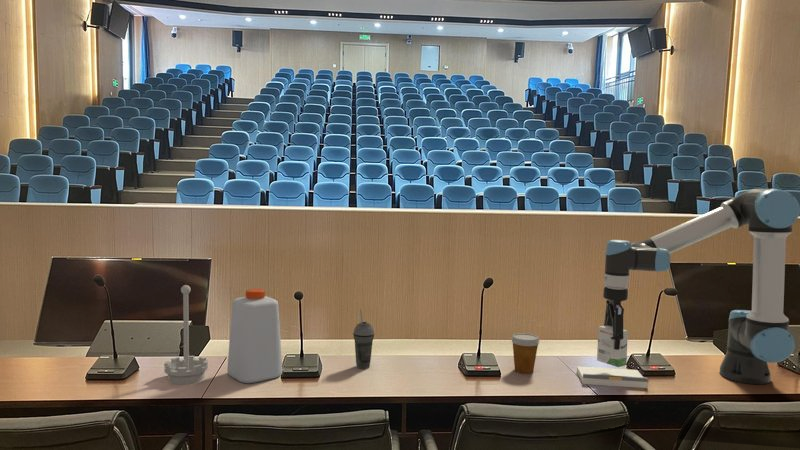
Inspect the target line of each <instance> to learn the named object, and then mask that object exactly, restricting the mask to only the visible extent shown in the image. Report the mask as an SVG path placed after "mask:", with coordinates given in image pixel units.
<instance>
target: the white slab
mask: <svg viewBox="0 0 800 450" xmlns="http://www.w3.org/2000/svg"><path fill="white" fill-rule="evenodd" d="M576 373H577V376H578V377H579V379H580V381H581V383H582V384H583V385H594V386H607V387H611V386H612V387H623V388H627V387H628V388H637V389H638V388H639V389H648V380H649V378H648V377H645V376H643V375H642V373H640V371H639V370H638V369H628V368H627V369H626V368H624V369H623V368H610V367H609V368H608V367H597V366H596V367H595V366H594V367H592V366H579V365H578V366H576Z"/></svg>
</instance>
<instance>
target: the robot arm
mask: <svg viewBox="0 0 800 450" xmlns="http://www.w3.org/2000/svg"><path fill="white" fill-rule="evenodd" d="M799 215H800V203H799V202H798V200H797V198H796V197H795V196H794V195H793V194H792V193H790V192H788V191H787V190H783V189H780V188H774V187H773V188H762V187H761V188H752V189H749V190H747V191H744V192H742V193H740V194H737V195H736V196H734V197H731V198H730V199H728V200H726V201H723V202H722V203H721V204H720V206H719V207H717V208H715V209H711V210H710V211H708V212H705V213H704V214H701V215H699V216H697V217H695V218H692V219H690V220H688V221H686V222H683V223H680V224H679V225H676V226H674V227H672V228H670V229H668V230H665V231H663V232H660V233H659V234H656V235H654V236H651V237H650V238H647V239H645V240H642V241H637V242H633V243H631V242H630V241H629V240H624V239H623V240H622V239H611V240H610V239H609V240H608V241H607V242H606V248H605V249H606V250H605V261H604V263H605V265H604V276H603V277H602V280H604V281H603V285H604V286H603V298H604V299H605V300H606V301H605V302H606V305H605V315H604V322H603V326H607V325H608V326H611V327H613V337H611V339H612V346H611V359H620V351H621V340H622V339H623V338H624V337H623V330H624V312H625V309H624V307H623V305H622V301H623V302H624V301H627V300H628V298H629V297H628V296H629V289H628V287H629V285H630V284H629V283H630V282H629V281H630V271H644V272H645V271H646V272H656V273H659V272H667V271H669V269H670V265H671V254H672V253H674V252H676V251H680V250H682V249H684V248H686V247H689V246H691V245H693V244H695V243H698V242H700V241H702V240H704V239H705V240H706V239H707V238H709V237H711V236H715V235H716V234H719V233H721V232H723V231H725V230H728V229H730V228H733V229H738V228H740V227H743V226H747V225H748V232H749V234H751V235H752V238H753V257H752V261H753V262H752V288H751V289H752V293H751V310H748V309H747V310H746V309H734V310H731V311H730V313H729V318H728V330H727V343H726V344H727V346H726V347H727V348H726V352H725V355H724V357H723V360H722V361H721V364H720V366H719V375H721V376H722V377H724V378H726V379H728V380H731V381H735V382H738V383H744V384H750V385H767V384H769V383H770V382H771V377H772V376H771V375H772V374H771V371H770V368H769V363H771V364H772V363H773V364H775V363H780V362H783V361H785V360H787V358H789V357H790V356H791V355H792V354H793V352H794V350H795V347H796V344H795V343H796V342H795V338H794V337H793V334H791V333H790V331H789V330H790V329H789V325H790V320H789V317H788V316H786V315H785V313H784V301H785V299H784V298H785V297H784V296H785V275H786V274H785V273H786V272H785V271H786V270H785V269H786V246H787V245H786V242H787V237H788V236H790V235H791V234H792V233H793V224H794V223H795V222H796V221H797V219H798V218H799Z"/></svg>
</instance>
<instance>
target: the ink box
mask: <svg viewBox="0 0 800 450" xmlns="http://www.w3.org/2000/svg"><path fill="white" fill-rule="evenodd" d="M628 335H629V330H628V329H627V330H626V329H623V337H624V338H623V339H622V340H621V351H620V359H611V346H612V339H611V337H613V327H611V326H608V325H607V326H604V325H599V326H598V327H597V354H596V362H597V361H598V362H600V363H604V364H607V365H610V366H613V367H616V368H620V367H624V366H627V362H628V361H627V358H628V356H627V355H628V341H629V340H628Z"/></svg>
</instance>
